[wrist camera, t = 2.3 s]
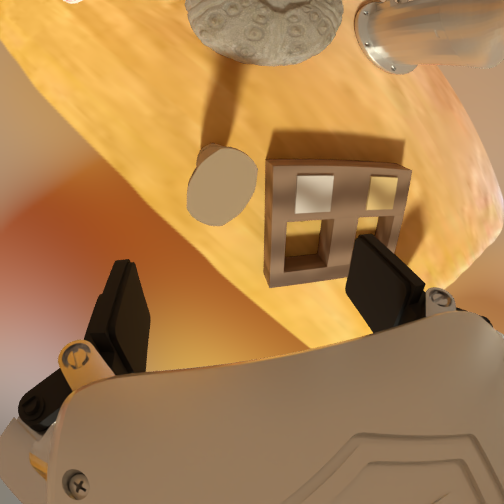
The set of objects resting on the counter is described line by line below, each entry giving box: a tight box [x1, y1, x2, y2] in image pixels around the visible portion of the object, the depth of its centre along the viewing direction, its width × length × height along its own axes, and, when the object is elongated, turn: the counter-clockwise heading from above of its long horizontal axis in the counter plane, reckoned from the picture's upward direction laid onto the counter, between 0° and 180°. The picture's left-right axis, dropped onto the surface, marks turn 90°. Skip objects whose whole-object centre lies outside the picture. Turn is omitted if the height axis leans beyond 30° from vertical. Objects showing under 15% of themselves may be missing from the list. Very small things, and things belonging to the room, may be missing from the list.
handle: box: [187, 143, 258, 226], centre depth 27 cm, size 5×6×15 cm
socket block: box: [264, 159, 412, 288], centre depth 40 cm, size 18×22×4 cm
